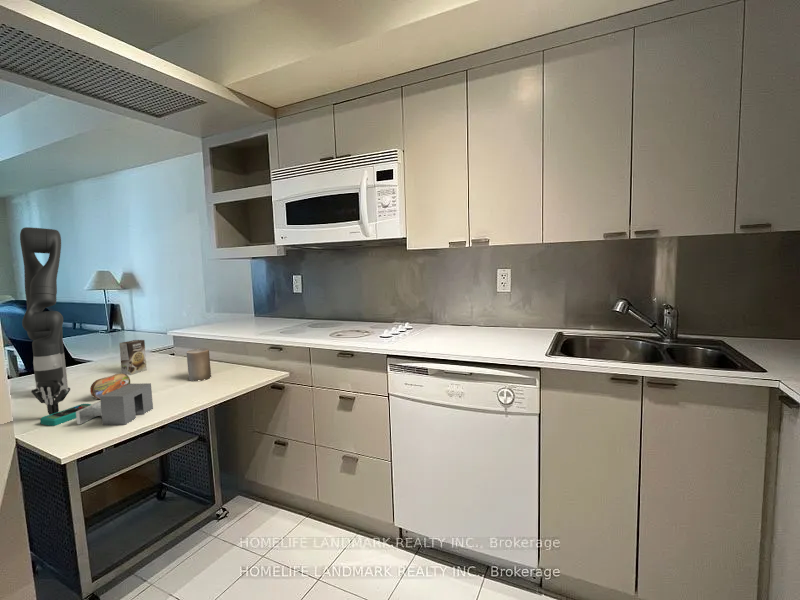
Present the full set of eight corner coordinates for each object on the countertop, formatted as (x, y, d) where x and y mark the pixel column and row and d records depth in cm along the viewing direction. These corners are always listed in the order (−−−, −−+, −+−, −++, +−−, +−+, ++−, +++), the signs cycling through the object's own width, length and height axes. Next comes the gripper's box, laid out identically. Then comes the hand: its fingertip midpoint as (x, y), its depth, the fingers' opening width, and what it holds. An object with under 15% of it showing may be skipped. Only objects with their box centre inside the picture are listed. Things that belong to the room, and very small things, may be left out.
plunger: (77, 424, 131) (75, 411, 131) (123, 402, 152) (122, 391, 152) (113, 423, 131) (112, 411, 130) (154, 401, 152) (153, 391, 151)
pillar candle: (215, 376, 187) (213, 345, 186) (200, 382, 177) (198, 350, 176) (199, 375, 189) (196, 345, 188) (183, 381, 180) (180, 349, 179)
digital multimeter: (99, 411, 145) (98, 403, 144) (54, 427, 130) (53, 419, 130) (85, 409, 147) (84, 402, 146) (39, 425, 133) (38, 417, 132)
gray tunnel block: (102, 424, 131) (99, 396, 130) (132, 409, 145) (130, 383, 144) (125, 424, 131) (122, 396, 130) (153, 409, 144) (150, 383, 144)
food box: (131, 375, 192) (128, 343, 190) (121, 374, 193) (118, 342, 192) (147, 370, 200) (145, 339, 199) (138, 369, 202) (135, 339, 201)
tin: (95, 402, 154) (93, 381, 153) (89, 401, 155) (87, 380, 154) (131, 390, 168) (130, 371, 167) (126, 389, 169) (124, 370, 168)
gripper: (75, 364, 140) (80, 409, 142) (40, 364, 141) (46, 410, 142) (56, 369, 133) (61, 418, 134) (19, 370, 133) (25, 418, 135)
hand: (53, 413), depth 138 cm, fingers closed
